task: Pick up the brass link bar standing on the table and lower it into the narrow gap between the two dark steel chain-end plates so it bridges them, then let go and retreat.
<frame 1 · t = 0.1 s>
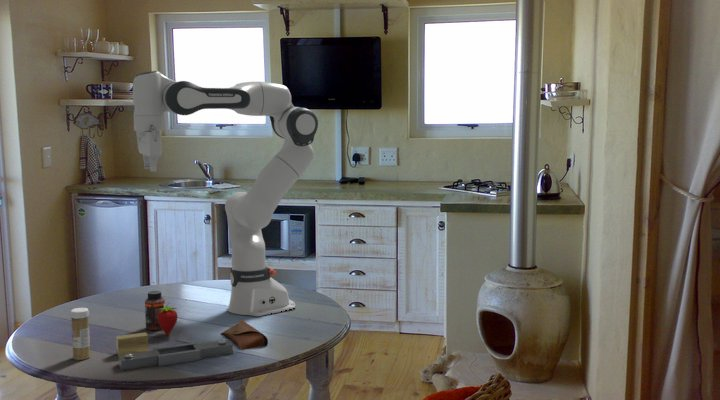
hand: (150, 170, 221), 48 cm above the table, fingers open, 8 cm apart
strawberry: (167, 335, 215), on the table
supplement bottle: (155, 328, 221), on the table
sprinkles bottle: (81, 358, 195), on the table
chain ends: (177, 358, 194), on the table
master link: (132, 353, 199), on the table
sunglasses case: (243, 341, 210), on the table
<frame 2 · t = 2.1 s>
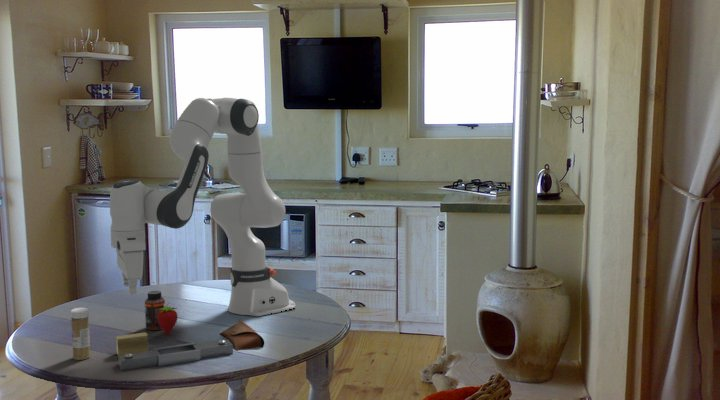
hand: (129, 289, 196), 18 cm above the table, fingers open, 8 cm apart
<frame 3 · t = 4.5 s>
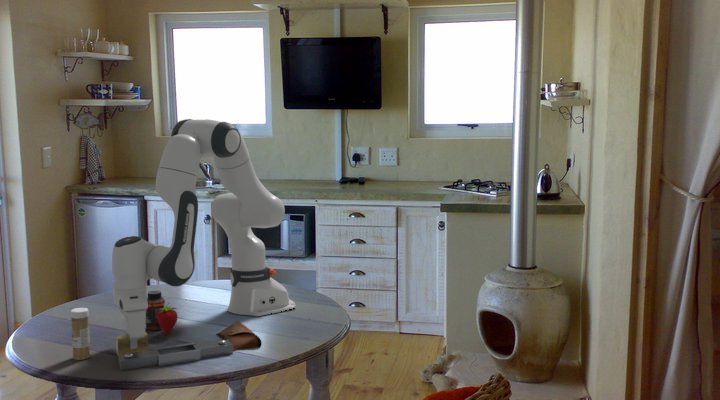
hand: (132, 345, 198), 2 cm above the table, fingers closed on master link, 3 cm apart
master link: (132, 352, 199), on the table, touching gripper
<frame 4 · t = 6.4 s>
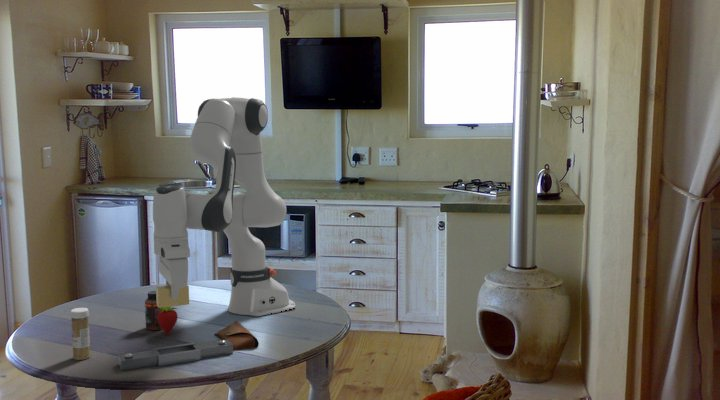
hand: (172, 296, 192), 17 cm above the table, fingers closed on master link, 3 cm apart
master link: (173, 304, 192), point 15 cm above the table, touching gripper
when the fingers open (4 cm above the table, at t = 8.6 s): master link drops 2 cm, resting in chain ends.
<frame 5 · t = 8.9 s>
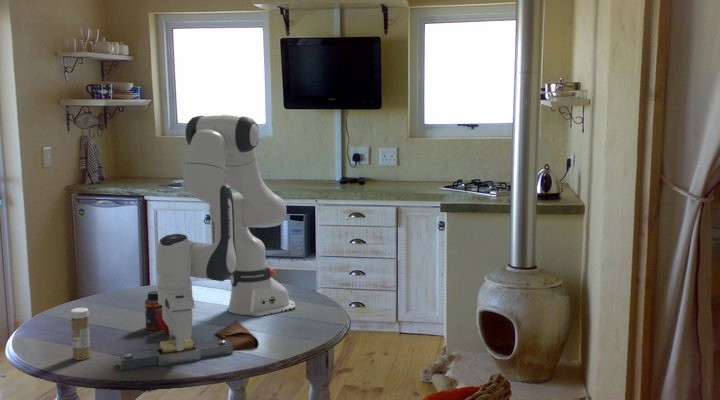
hand: (176, 345, 194), 4 cm above the table, fingers open, 6 cm apart
master link: (177, 359, 194), resting in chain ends
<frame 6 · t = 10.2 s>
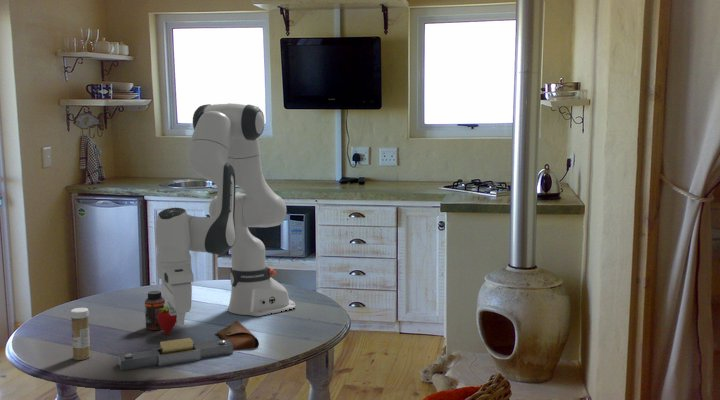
hand: (176, 319, 193), 11 cm above the table, fingers open, 8 cm apart
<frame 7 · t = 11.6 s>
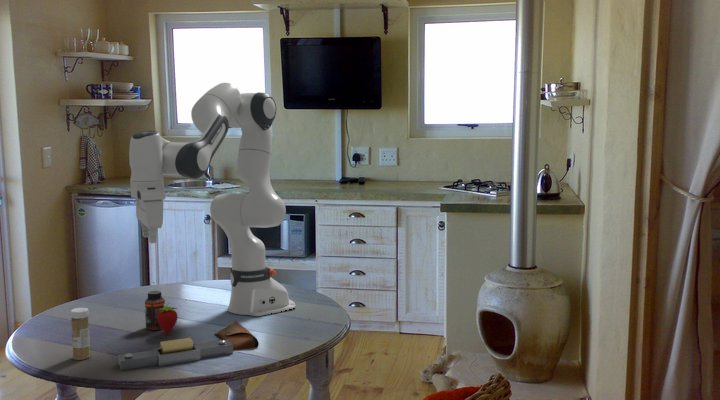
hand: (149, 239, 200), 31 cm above the table, fingers open, 8 cm apart
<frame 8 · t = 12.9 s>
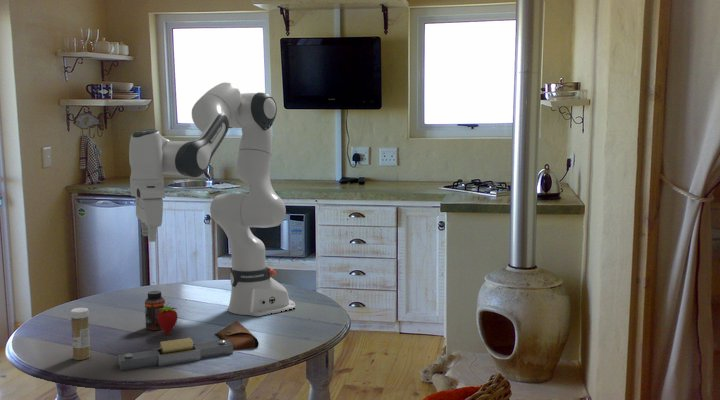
hand: (149, 238, 200), 31 cm above the table, fingers open, 8 cm apart
at the end: master link 0.0 cm off-centre on the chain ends, point 0.0 cm above the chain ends's base; the gripper is holding nothing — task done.
